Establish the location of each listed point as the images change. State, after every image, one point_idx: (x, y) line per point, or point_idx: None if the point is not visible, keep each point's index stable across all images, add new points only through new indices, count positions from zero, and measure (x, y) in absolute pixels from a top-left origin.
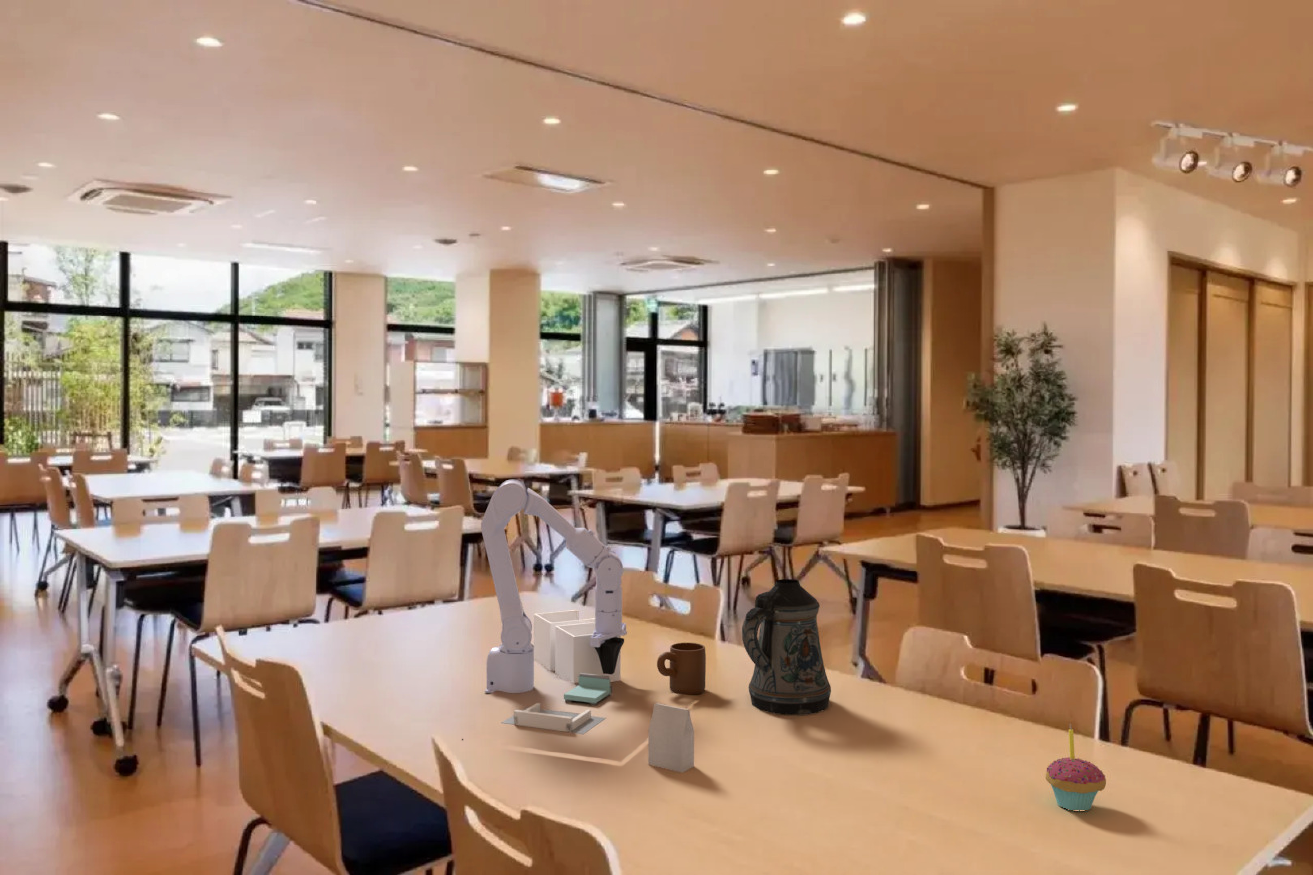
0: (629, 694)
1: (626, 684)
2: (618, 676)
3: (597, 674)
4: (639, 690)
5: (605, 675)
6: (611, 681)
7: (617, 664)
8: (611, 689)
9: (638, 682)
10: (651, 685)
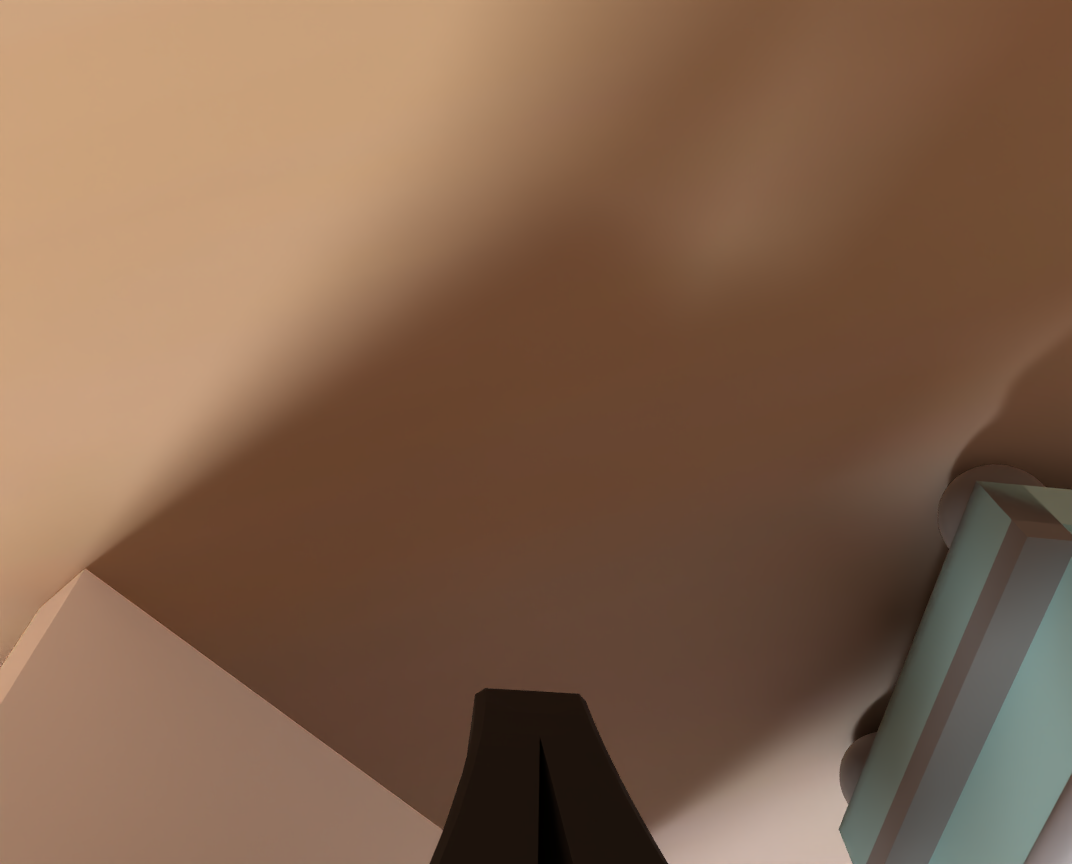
0: (721, 265)
1: (233, 444)
2: (87, 625)
3: (327, 852)
4: (474, 173)
5: (239, 767)
6: (192, 649)
7: (23, 777)
8: (1013, 507)
9: (47, 310)
10: (110, 45)
